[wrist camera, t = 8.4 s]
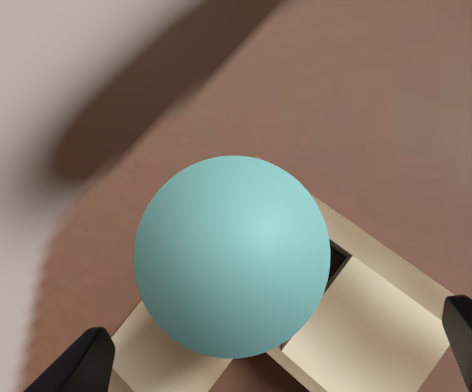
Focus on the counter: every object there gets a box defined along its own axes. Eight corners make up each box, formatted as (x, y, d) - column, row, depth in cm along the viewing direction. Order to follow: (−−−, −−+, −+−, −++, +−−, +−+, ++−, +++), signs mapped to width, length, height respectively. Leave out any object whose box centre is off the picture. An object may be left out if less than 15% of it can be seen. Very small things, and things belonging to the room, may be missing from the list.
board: (278, 551, 16) (276, 590, 14) (104, 364, 19) (82, 374, 17) (454, 305, 17) (474, 309, 15) (260, 167, 20) (256, 155, 18)
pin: (279, 314, 18) (242, 408, 5) (228, 271, 19) (96, 266, 6) (319, 261, 18) (373, 232, 6) (267, 221, 19) (214, 121, 7)
